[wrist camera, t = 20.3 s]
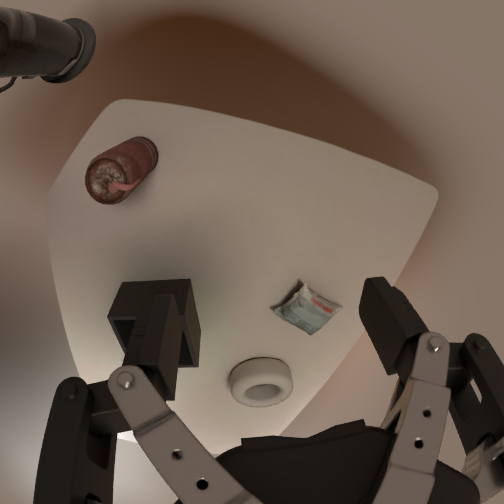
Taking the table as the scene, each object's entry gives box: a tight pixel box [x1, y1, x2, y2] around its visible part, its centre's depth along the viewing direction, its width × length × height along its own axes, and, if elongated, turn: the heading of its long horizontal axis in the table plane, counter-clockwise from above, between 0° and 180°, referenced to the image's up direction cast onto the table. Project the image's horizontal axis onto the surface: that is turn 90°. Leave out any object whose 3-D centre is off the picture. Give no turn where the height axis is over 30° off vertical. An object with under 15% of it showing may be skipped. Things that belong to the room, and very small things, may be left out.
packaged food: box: [274, 282, 343, 335], centre depth 55 cm, size 9×12×5 cm
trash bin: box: [107, 279, 201, 368], centre depth 51 cm, size 14×14×10 cm
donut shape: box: [231, 358, 293, 407], centre depth 65 cm, size 15×15×7 cm
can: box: [85, 137, 158, 205], centre depth 34 cm, size 6×6×14 cm
